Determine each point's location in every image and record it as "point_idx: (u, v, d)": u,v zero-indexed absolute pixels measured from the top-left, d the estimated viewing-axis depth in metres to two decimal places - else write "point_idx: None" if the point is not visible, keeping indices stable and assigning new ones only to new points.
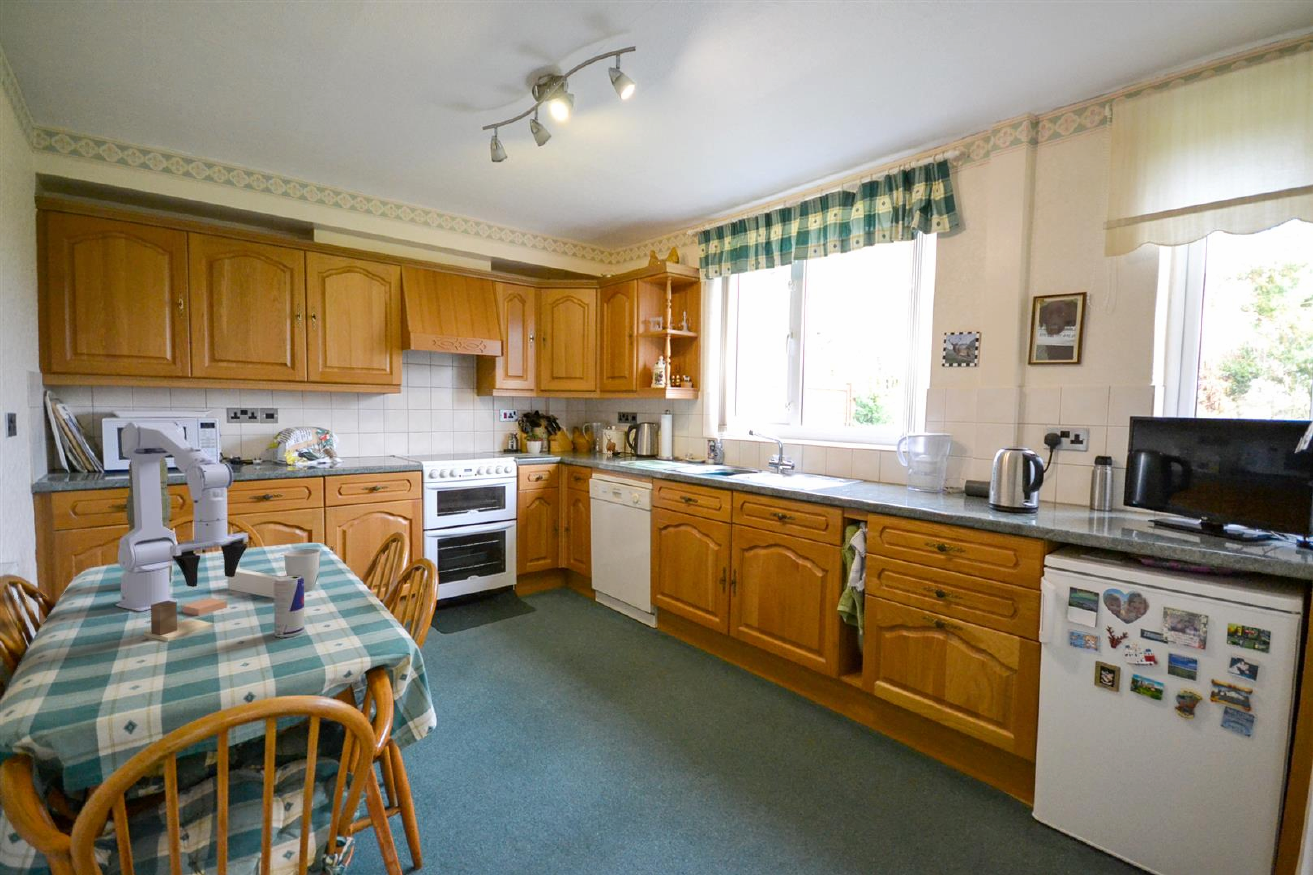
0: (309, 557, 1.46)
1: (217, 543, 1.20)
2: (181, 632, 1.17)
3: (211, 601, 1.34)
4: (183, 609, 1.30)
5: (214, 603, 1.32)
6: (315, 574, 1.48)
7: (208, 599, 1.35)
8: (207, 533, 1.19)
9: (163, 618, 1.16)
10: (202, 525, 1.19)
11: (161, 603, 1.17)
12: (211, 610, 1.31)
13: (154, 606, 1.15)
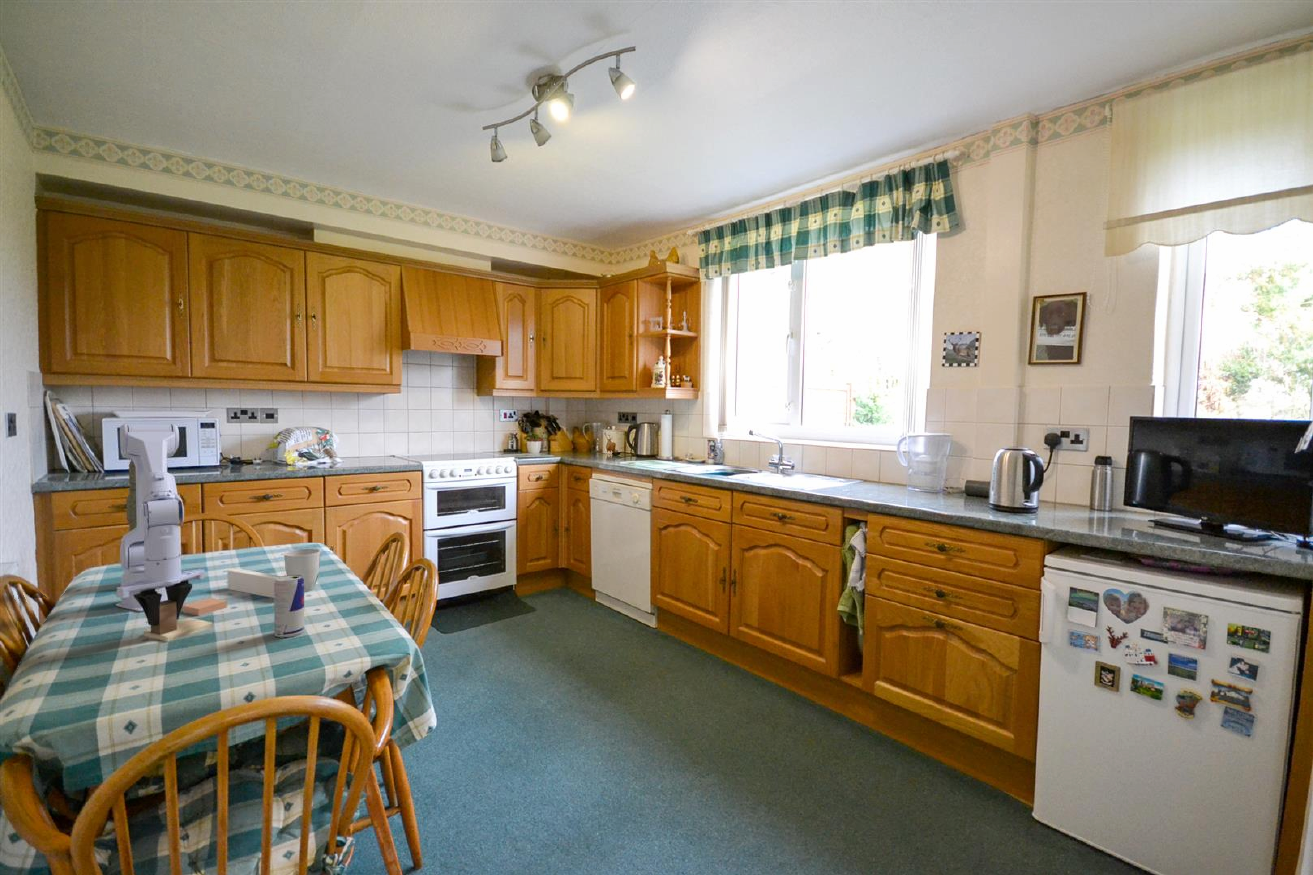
0: (309, 557, 1.46)
1: (168, 583, 1.14)
2: (180, 631, 1.17)
3: (211, 601, 1.34)
4: (183, 609, 1.30)
5: (214, 603, 1.32)
6: (315, 574, 1.48)
7: (208, 599, 1.35)
8: (157, 573, 1.14)
9: (163, 617, 1.15)
10: (152, 564, 1.13)
11: (161, 602, 1.17)
12: (211, 610, 1.31)
13: None
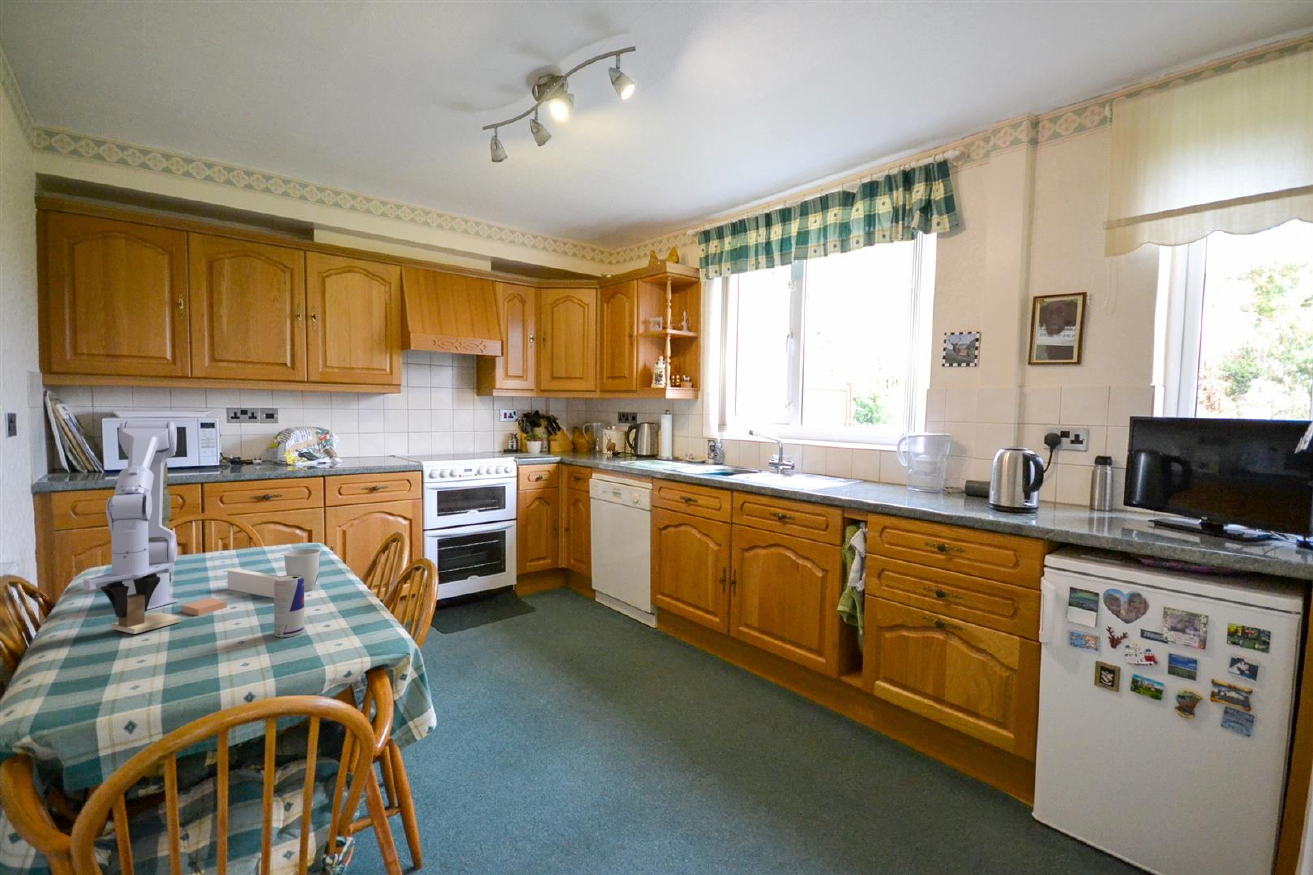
0: (309, 557, 1.46)
1: (135, 576, 1.16)
2: (148, 624, 1.19)
3: (211, 601, 1.34)
4: (183, 609, 1.30)
5: (214, 603, 1.32)
6: (315, 574, 1.48)
7: (208, 599, 1.35)
8: (124, 566, 1.16)
9: (131, 610, 1.18)
10: (119, 557, 1.16)
11: (129, 595, 1.19)
12: (211, 610, 1.31)
13: None
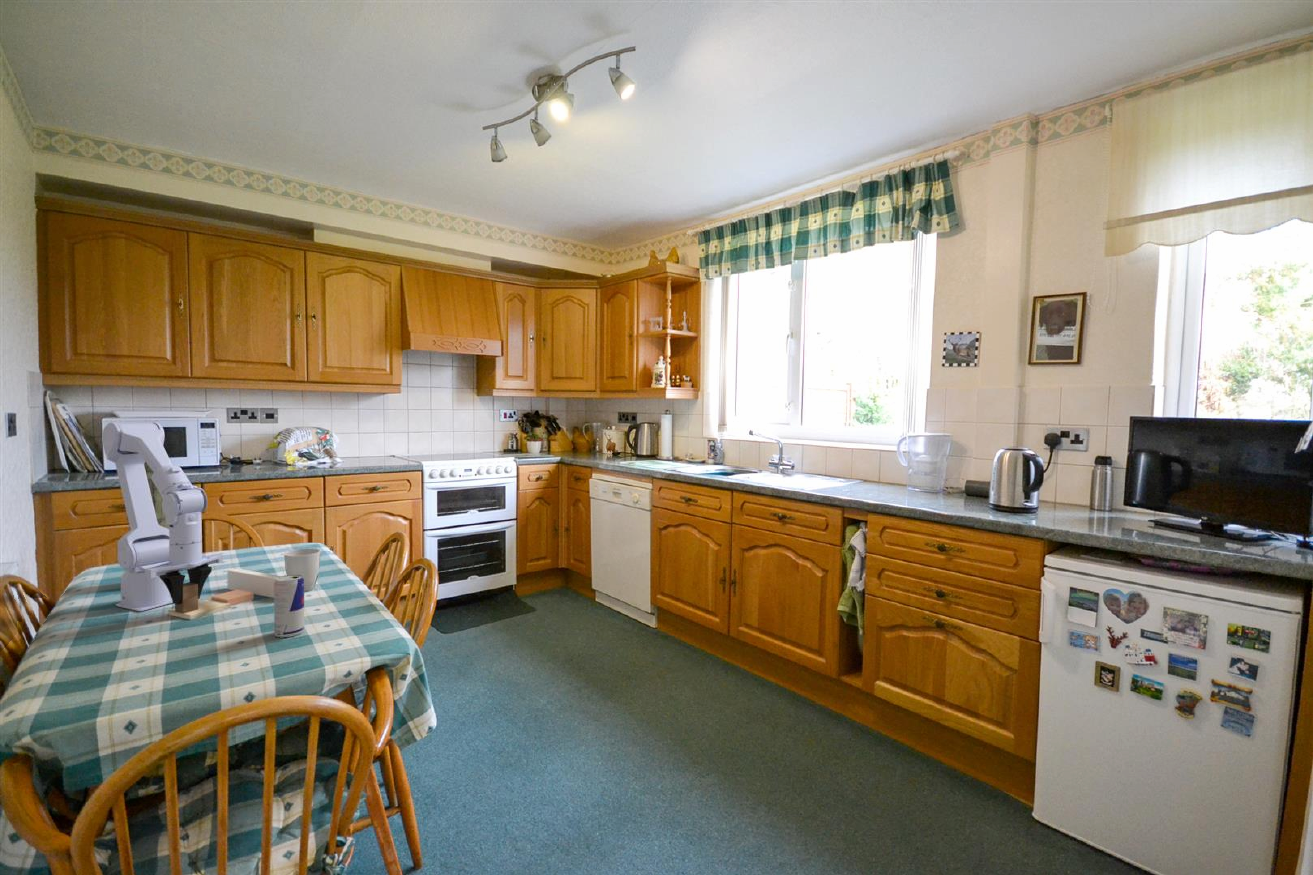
0: (309, 557, 1.46)
1: (191, 565, 1.26)
2: (201, 610, 1.29)
3: (239, 592, 1.39)
4: None
5: (242, 594, 1.38)
6: (315, 574, 1.48)
7: (236, 591, 1.41)
8: (181, 556, 1.26)
9: (186, 597, 1.27)
10: (177, 548, 1.25)
11: (184, 584, 1.28)
12: (239, 601, 1.37)
13: None
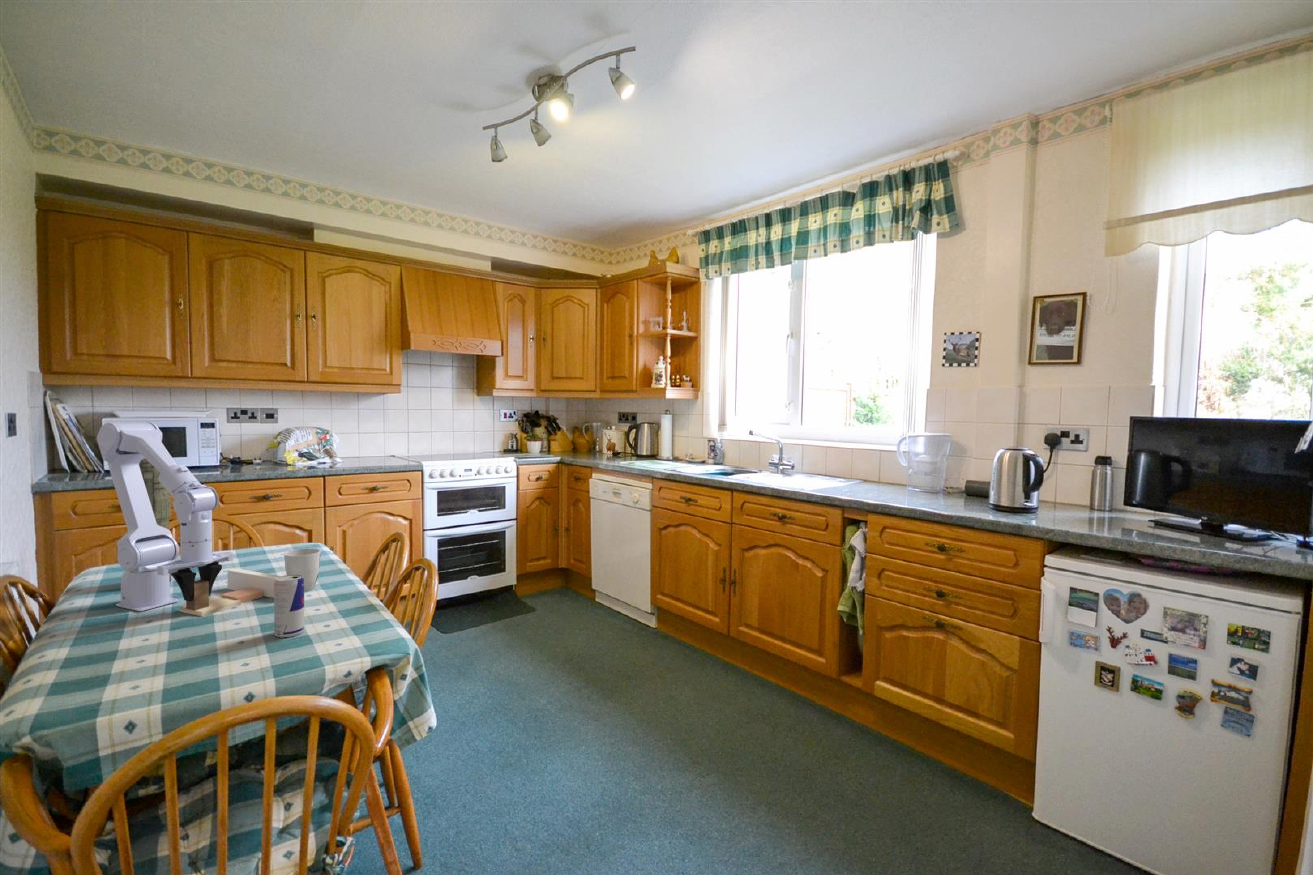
0: (309, 557, 1.46)
1: (202, 563, 1.28)
2: (212, 607, 1.31)
3: (248, 590, 1.42)
4: None
5: (251, 593, 1.40)
6: (315, 574, 1.48)
7: (245, 589, 1.43)
8: (192, 554, 1.28)
9: (197, 594, 1.29)
10: (188, 546, 1.27)
11: (195, 582, 1.31)
12: (249, 599, 1.39)
13: None
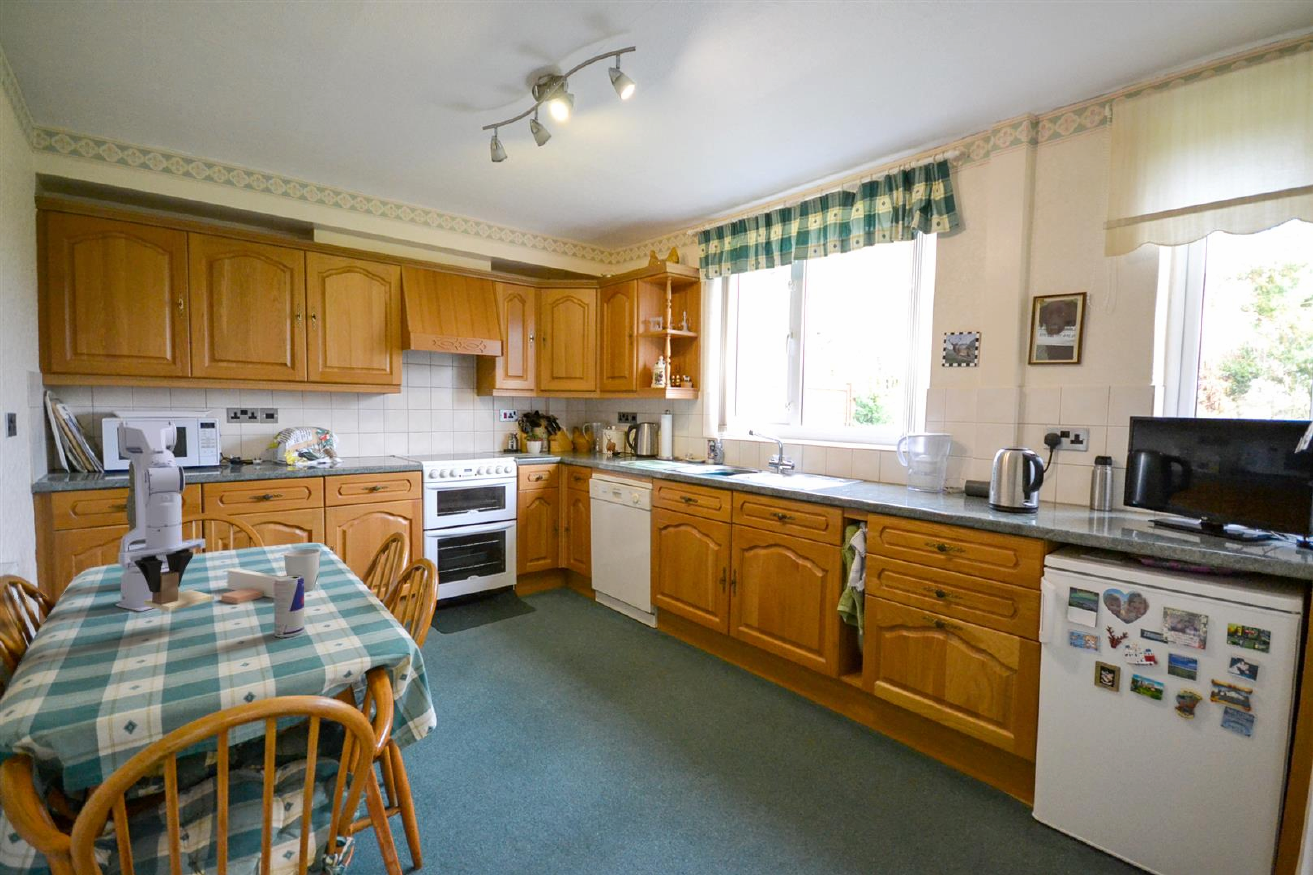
0: (309, 557, 1.46)
1: (169, 550, 1.15)
2: (181, 602, 1.18)
3: (248, 590, 1.42)
4: (222, 598, 1.38)
5: (251, 592, 1.40)
6: (315, 574, 1.48)
7: (245, 589, 1.43)
8: (158, 540, 1.14)
9: (165, 587, 1.16)
10: (153, 531, 1.14)
11: (163, 573, 1.17)
12: (248, 599, 1.39)
13: None
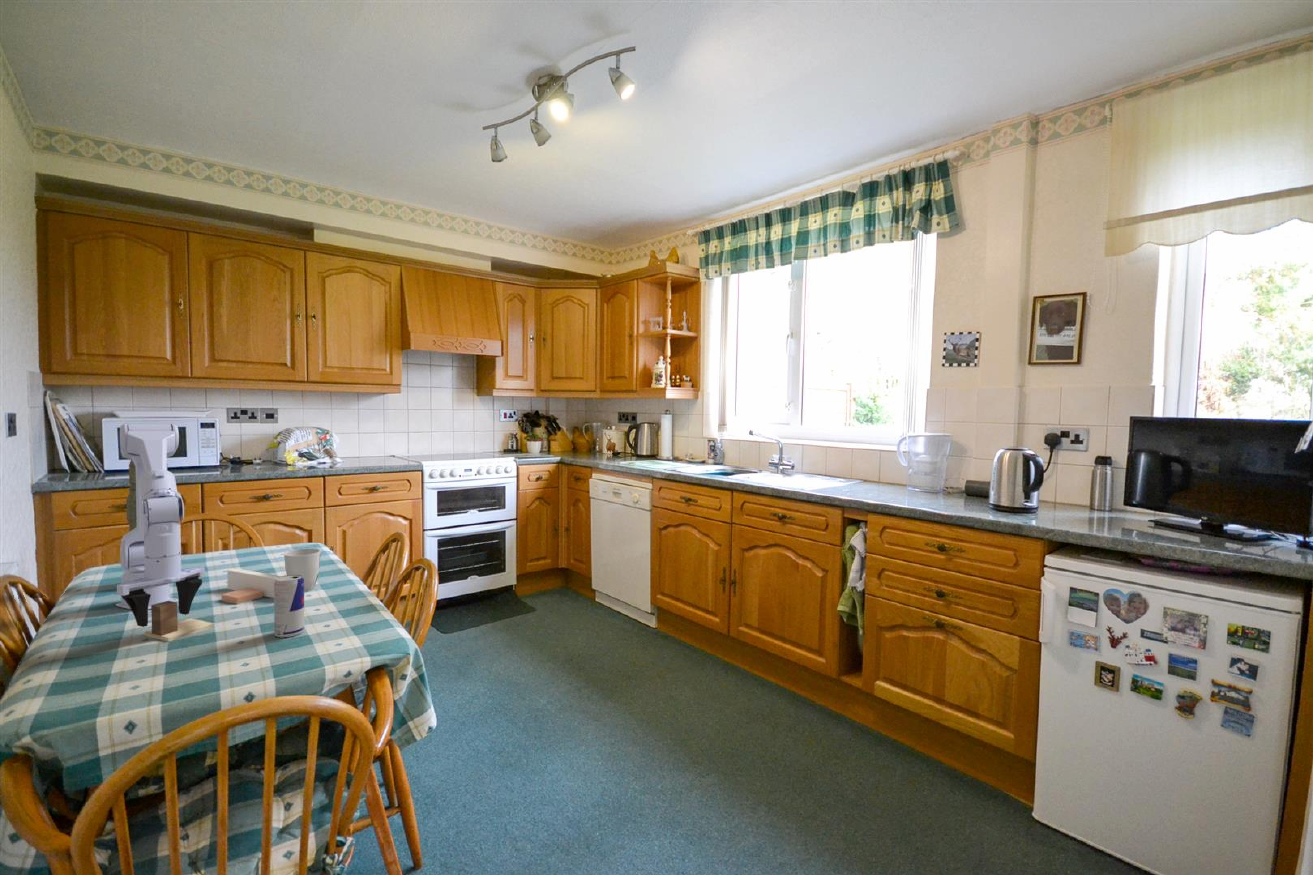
0: (309, 557, 1.46)
1: (168, 580, 1.14)
2: (181, 632, 1.17)
3: (248, 590, 1.42)
4: (222, 598, 1.38)
5: (251, 593, 1.40)
6: (315, 574, 1.48)
7: (245, 589, 1.43)
8: (157, 570, 1.14)
9: (164, 618, 1.15)
10: (152, 562, 1.13)
11: (161, 603, 1.17)
12: (248, 599, 1.39)
13: (154, 606, 1.15)
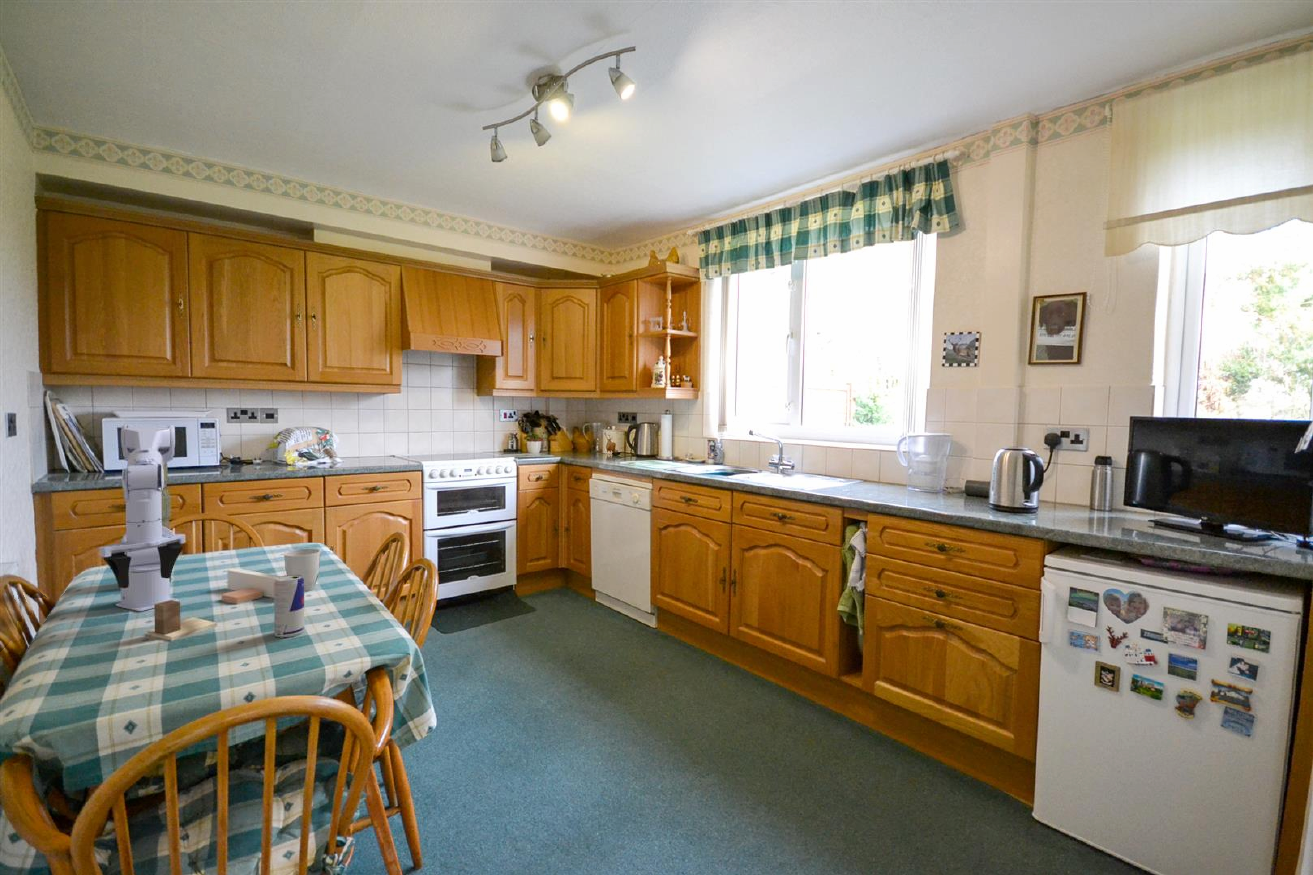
0: (309, 557, 1.46)
1: (149, 544, 1.19)
2: (184, 631, 1.17)
3: (248, 590, 1.42)
4: (222, 598, 1.38)
5: (251, 593, 1.40)
6: (315, 574, 1.48)
7: (245, 589, 1.43)
8: (139, 535, 1.19)
9: (167, 617, 1.16)
10: (134, 526, 1.19)
11: (164, 602, 1.17)
12: (248, 599, 1.39)
13: (157, 605, 1.16)
